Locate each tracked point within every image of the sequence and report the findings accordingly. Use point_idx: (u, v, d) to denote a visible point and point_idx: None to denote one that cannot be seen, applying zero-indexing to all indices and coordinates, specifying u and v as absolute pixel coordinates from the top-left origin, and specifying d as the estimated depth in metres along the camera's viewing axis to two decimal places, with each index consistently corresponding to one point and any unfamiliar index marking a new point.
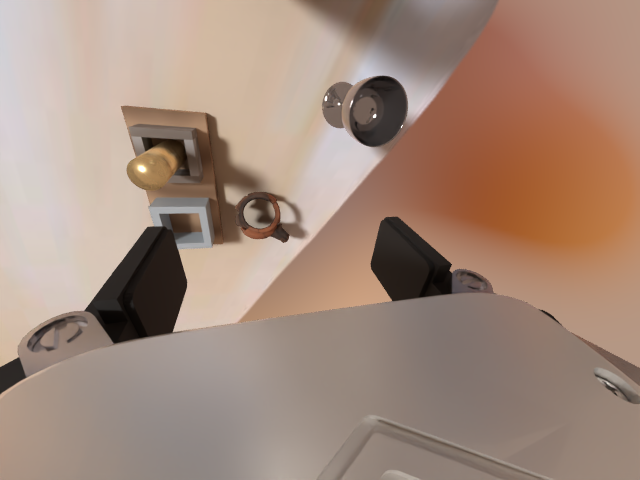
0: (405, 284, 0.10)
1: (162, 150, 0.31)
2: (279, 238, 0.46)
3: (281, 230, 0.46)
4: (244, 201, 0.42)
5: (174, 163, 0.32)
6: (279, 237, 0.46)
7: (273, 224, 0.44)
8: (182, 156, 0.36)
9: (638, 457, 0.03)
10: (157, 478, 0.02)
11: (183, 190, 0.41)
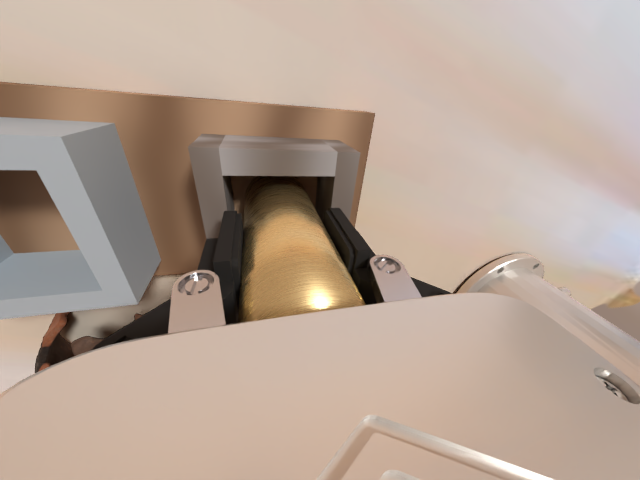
0: None
1: None
2: None
3: None
4: None
5: None
6: None
7: None
8: None
9: (638, 457, 0.03)
10: (157, 478, 0.02)
11: (170, 207, 0.14)
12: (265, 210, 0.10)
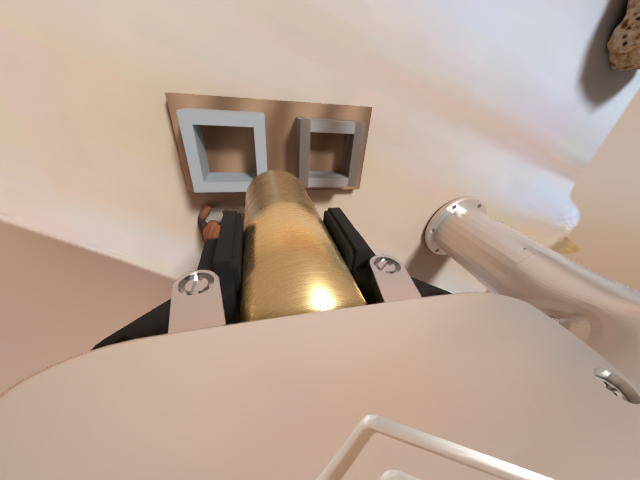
0: None
1: None
2: None
3: None
4: None
5: None
6: None
7: None
8: None
9: (638, 457, 0.03)
10: (157, 478, 0.02)
11: (276, 152, 0.31)
12: (265, 210, 0.10)
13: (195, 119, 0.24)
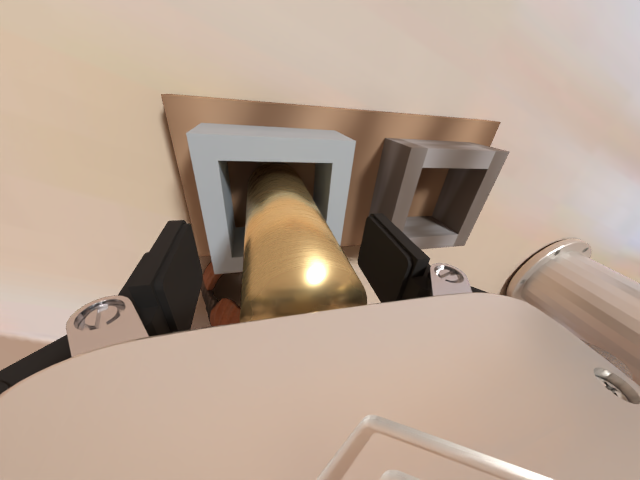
0: (388, 279, 0.10)
1: None
2: None
3: None
4: None
5: None
6: None
7: None
8: None
9: (638, 457, 0.03)
10: (157, 478, 0.02)
11: None
12: (265, 191, 0.12)
13: (224, 151, 0.12)
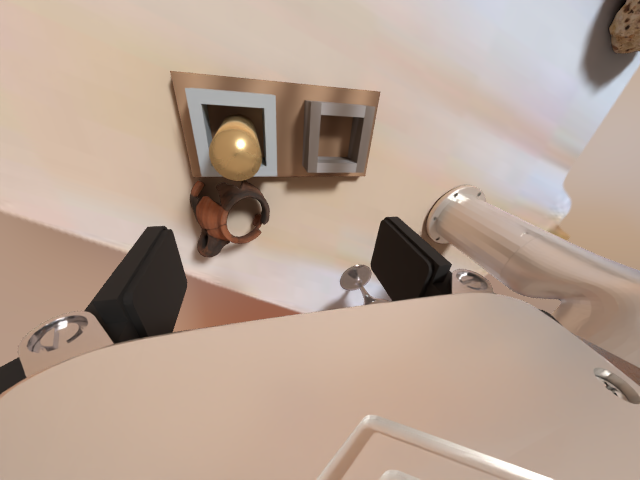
0: (405, 284, 0.10)
1: None
2: (209, 248, 0.31)
3: (221, 247, 0.32)
4: (259, 196, 0.30)
5: None
6: (211, 248, 0.31)
7: (235, 240, 0.31)
8: None
9: (638, 457, 0.03)
10: (157, 478, 0.02)
11: (284, 136, 0.30)
12: (226, 121, 0.23)
13: (204, 98, 0.23)
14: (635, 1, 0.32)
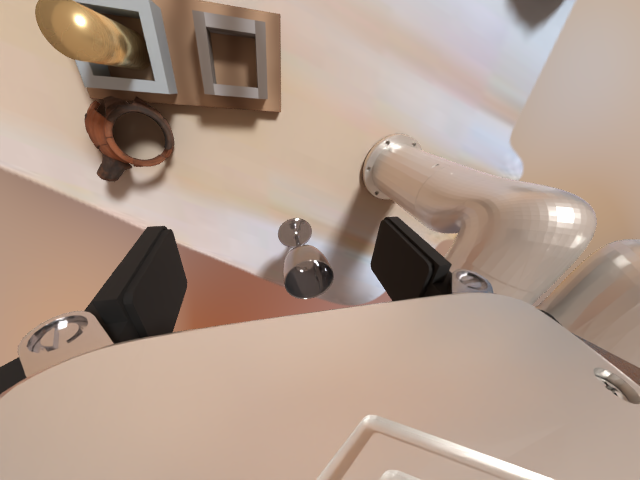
0: (406, 284, 0.10)
1: (126, 52, 0.24)
2: (104, 168, 0.31)
3: (120, 170, 0.32)
4: (154, 114, 0.30)
5: (110, 65, 0.23)
6: (106, 168, 0.31)
7: (129, 159, 0.30)
8: (128, 68, 0.27)
9: (638, 457, 0.03)
10: (157, 478, 0.02)
11: (182, 59, 0.30)
12: None
13: None
14: None
